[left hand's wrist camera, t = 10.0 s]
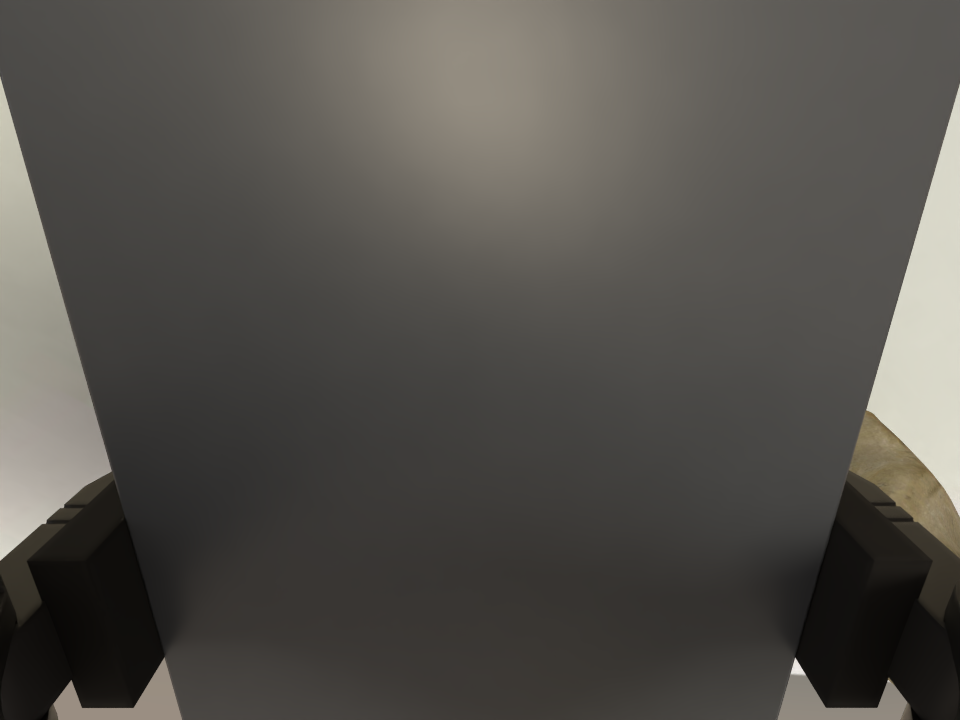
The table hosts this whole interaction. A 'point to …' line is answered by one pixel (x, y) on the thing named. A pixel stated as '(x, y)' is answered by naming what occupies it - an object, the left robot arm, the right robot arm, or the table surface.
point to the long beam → (480, 330)
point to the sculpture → (905, 481)
